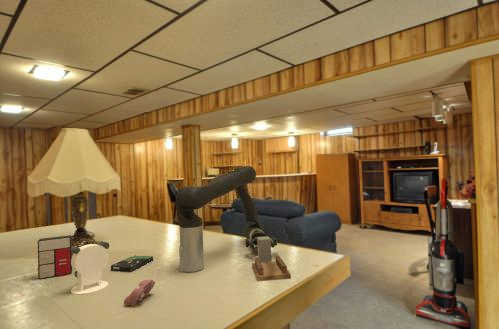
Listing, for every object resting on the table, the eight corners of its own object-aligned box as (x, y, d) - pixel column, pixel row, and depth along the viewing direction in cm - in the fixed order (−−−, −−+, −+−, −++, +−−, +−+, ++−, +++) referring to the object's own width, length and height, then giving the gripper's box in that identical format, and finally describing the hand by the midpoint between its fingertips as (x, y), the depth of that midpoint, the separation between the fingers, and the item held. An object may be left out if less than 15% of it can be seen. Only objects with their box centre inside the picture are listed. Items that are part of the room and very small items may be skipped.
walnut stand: (257, 281, 100) (256, 269, 100) (252, 267, 115) (251, 256, 115) (290, 278, 102) (290, 266, 102) (281, 264, 117) (281, 254, 117)
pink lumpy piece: (133, 312, 84) (143, 291, 84) (121, 304, 85) (130, 283, 84) (151, 297, 94) (159, 278, 93) (140, 290, 94) (148, 272, 94)
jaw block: (259, 264, 119) (258, 239, 119) (258, 260, 124) (257, 237, 124) (271, 263, 119) (270, 239, 119) (269, 259, 124) (268, 236, 124)
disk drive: (131, 274, 114) (153, 261, 129) (131, 267, 114) (153, 255, 129) (110, 272, 117) (134, 260, 131) (110, 265, 117) (134, 254, 131)
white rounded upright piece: (101, 278, 109) (100, 239, 109) (115, 285, 101) (114, 242, 102) (65, 289, 99) (64, 246, 100) (78, 297, 92) (77, 250, 92)
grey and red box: (37, 280, 110) (37, 240, 110) (40, 276, 113) (39, 238, 114) (71, 274, 115) (70, 236, 115) (72, 271, 118) (71, 234, 119)
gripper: (243, 230, 139) (246, 238, 123) (271, 229, 141) (279, 236, 125) (243, 246, 139) (247, 256, 123) (272, 244, 140) (279, 253, 124)
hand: (263, 246), depth 124 cm, fingers open, 8 cm apart
